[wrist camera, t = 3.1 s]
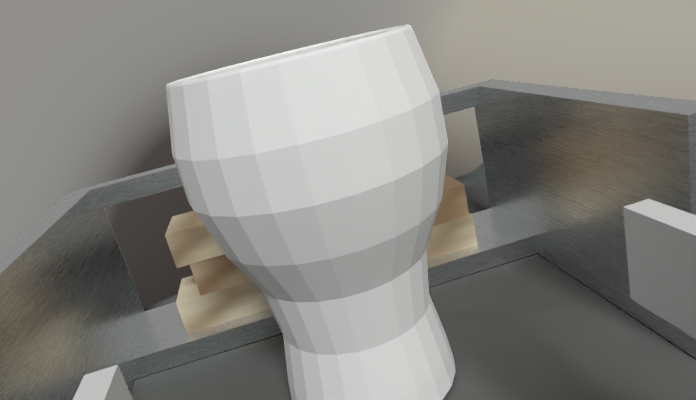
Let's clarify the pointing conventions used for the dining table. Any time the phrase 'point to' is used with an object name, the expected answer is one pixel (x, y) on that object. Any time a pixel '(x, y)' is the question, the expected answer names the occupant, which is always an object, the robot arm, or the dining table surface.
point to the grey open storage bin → (492, 250)
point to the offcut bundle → (244, 295)
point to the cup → (328, 205)
